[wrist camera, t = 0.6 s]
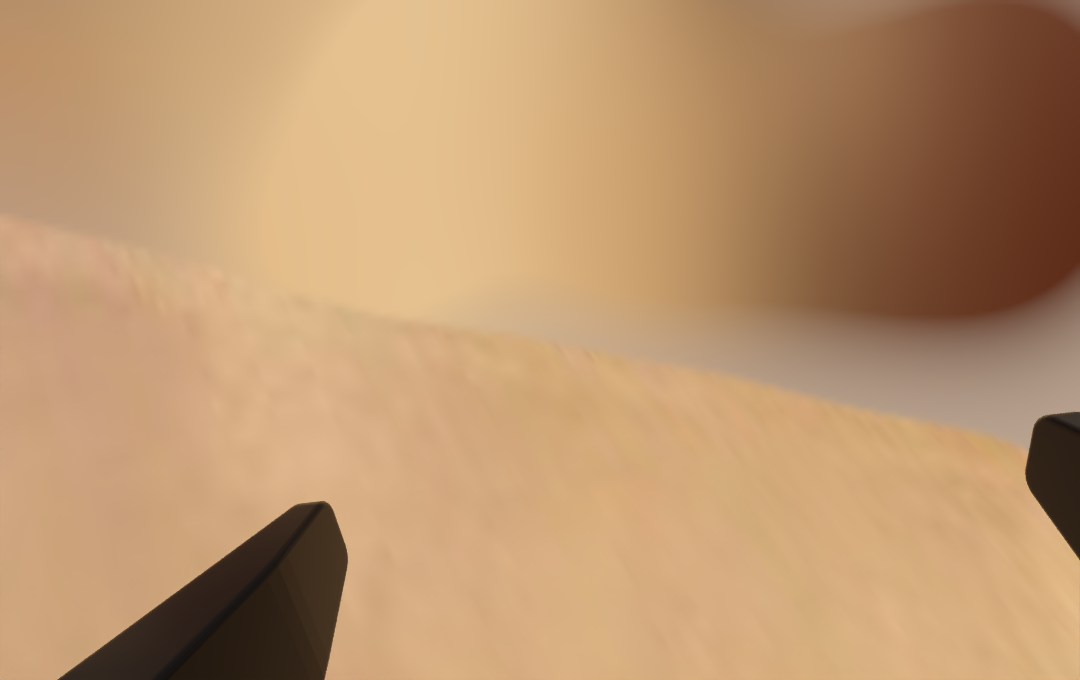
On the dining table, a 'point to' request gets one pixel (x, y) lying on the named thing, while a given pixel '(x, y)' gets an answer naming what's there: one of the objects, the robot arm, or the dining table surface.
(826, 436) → the dining table surface
